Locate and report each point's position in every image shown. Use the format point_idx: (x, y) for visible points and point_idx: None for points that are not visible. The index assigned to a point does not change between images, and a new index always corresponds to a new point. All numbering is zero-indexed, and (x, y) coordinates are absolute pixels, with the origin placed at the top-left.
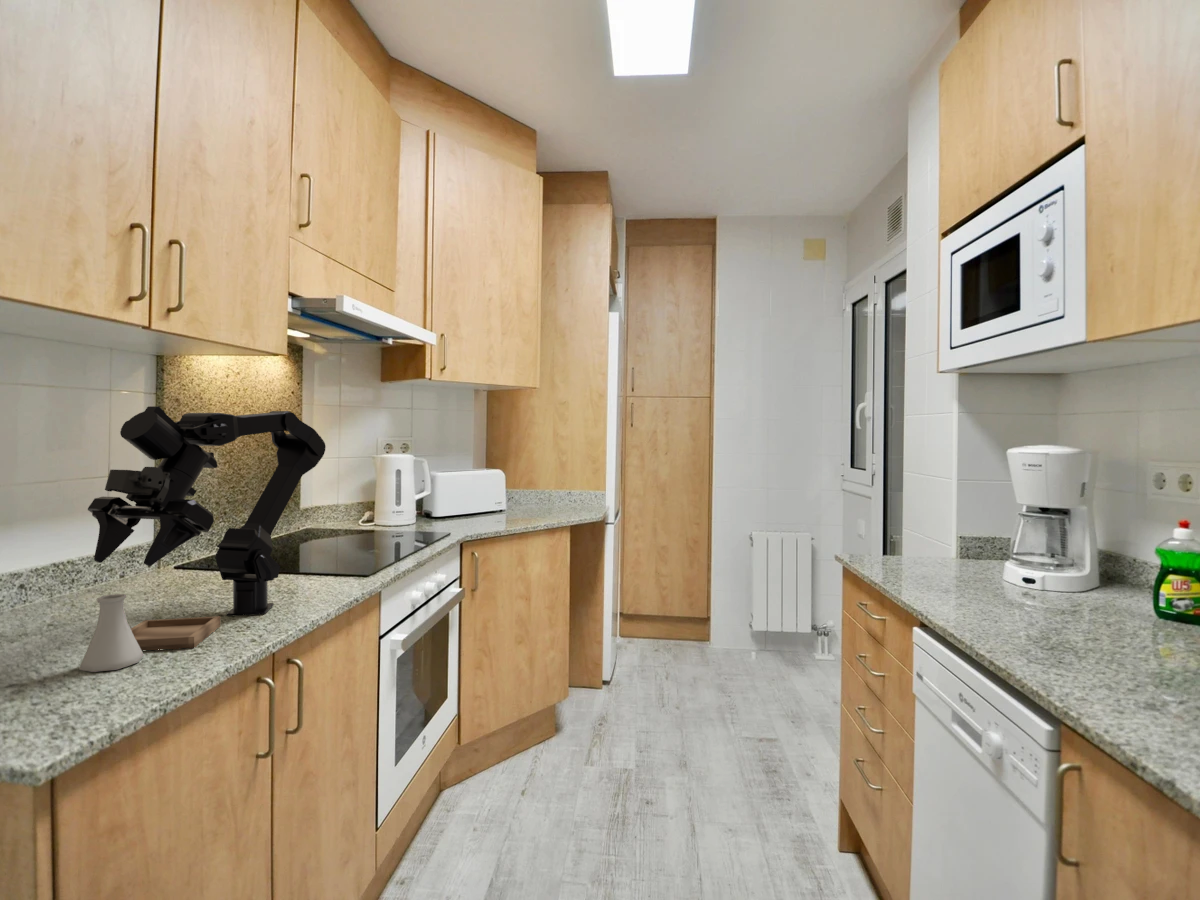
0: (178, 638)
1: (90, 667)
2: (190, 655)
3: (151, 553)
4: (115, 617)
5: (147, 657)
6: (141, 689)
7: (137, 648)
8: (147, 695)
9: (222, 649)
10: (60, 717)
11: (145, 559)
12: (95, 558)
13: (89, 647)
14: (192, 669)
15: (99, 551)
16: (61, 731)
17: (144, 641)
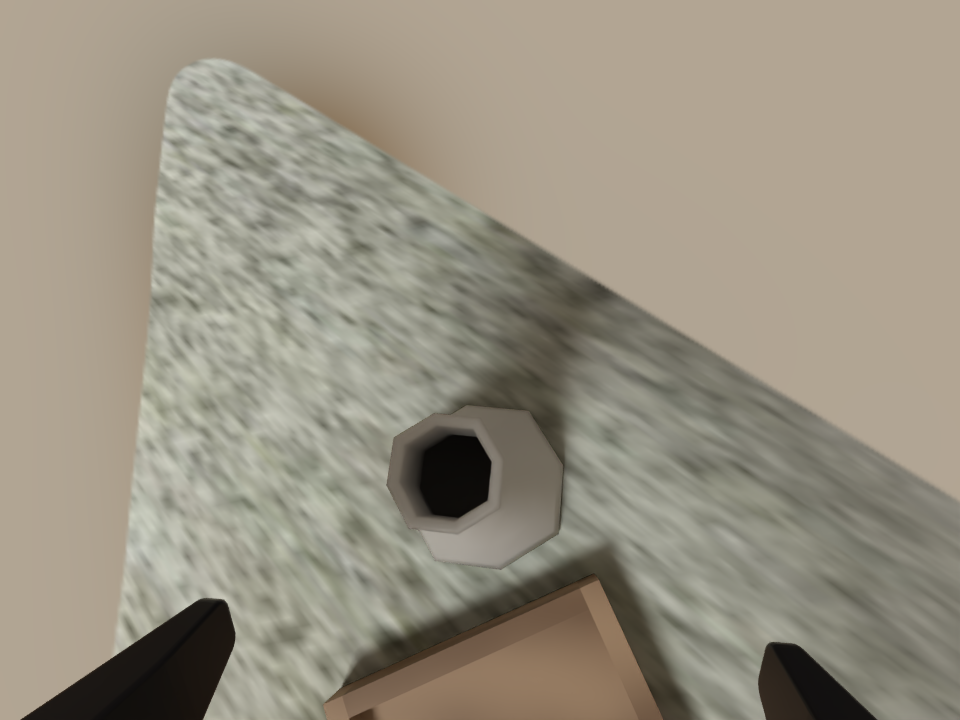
0: (376, 679)
1: (481, 408)
2: (301, 612)
3: (116, 659)
4: (421, 457)
5: (428, 565)
6: (245, 344)
7: (425, 532)
8: (204, 319)
9: (234, 695)
10: (299, 189)
11: (196, 615)
12: (784, 648)
13: (505, 420)
14: (211, 496)
15: (808, 710)
16: (242, 149)
17: (485, 628)
